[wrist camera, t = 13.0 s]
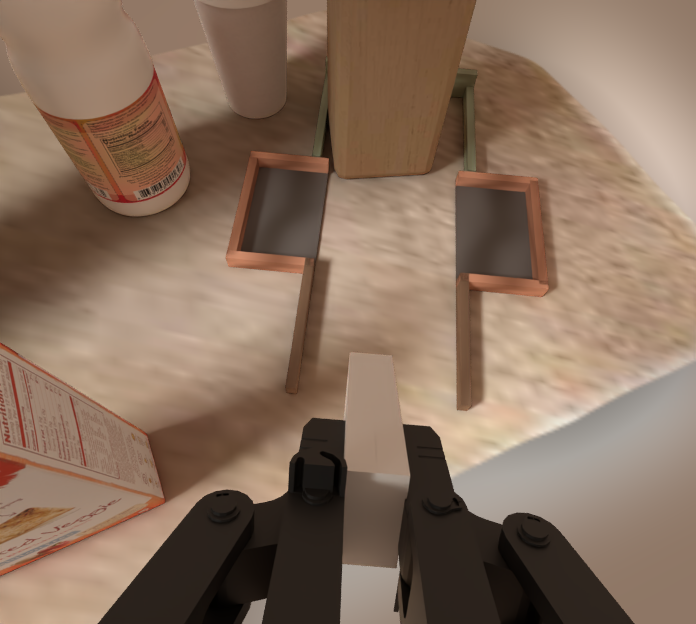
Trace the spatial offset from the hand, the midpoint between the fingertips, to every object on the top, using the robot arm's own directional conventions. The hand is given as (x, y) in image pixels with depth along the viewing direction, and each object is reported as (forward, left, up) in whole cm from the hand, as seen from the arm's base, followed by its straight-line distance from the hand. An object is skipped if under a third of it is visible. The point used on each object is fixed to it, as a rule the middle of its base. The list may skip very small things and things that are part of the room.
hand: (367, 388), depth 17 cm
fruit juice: (-23, +26, -22) cm, 41 cm away
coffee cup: (-14, +39, -22) cm, 46 cm away
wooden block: (0, +34, -22) cm, 40 cm away
